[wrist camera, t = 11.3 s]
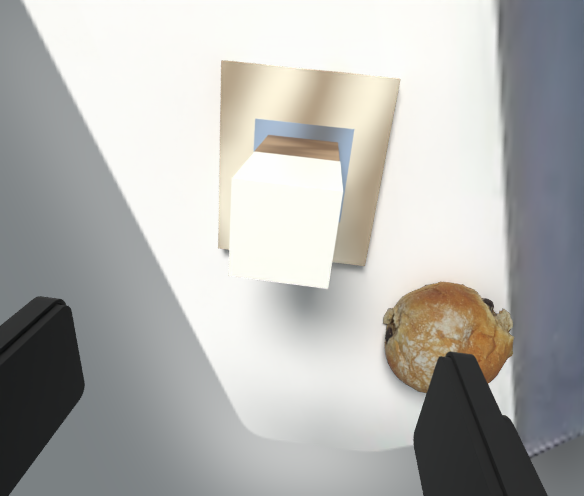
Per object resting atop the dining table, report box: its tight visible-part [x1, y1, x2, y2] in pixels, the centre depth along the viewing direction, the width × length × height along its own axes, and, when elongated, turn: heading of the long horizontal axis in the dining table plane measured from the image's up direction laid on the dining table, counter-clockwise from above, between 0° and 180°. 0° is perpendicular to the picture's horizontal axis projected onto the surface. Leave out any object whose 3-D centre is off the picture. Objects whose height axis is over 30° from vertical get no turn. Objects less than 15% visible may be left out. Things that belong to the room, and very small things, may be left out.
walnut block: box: [255, 135, 340, 161], centre depth 27 cm, size 5×5×6 cm
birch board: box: [218, 61, 400, 266], centre depth 31 cm, size 12×14×1 cm
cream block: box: [228, 151, 343, 289], centre depth 22 cm, size 5×5×6 cm
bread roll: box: [383, 282, 514, 393], centre depth 34 cm, size 10×10×8 cm
